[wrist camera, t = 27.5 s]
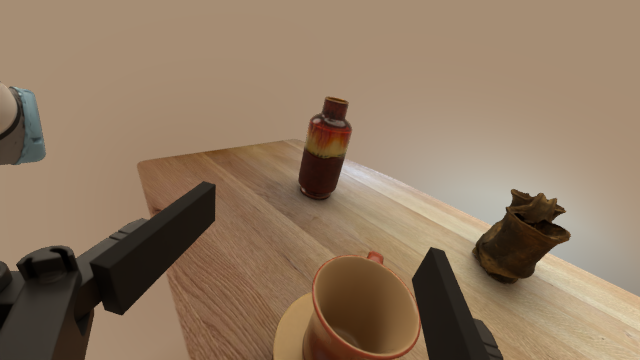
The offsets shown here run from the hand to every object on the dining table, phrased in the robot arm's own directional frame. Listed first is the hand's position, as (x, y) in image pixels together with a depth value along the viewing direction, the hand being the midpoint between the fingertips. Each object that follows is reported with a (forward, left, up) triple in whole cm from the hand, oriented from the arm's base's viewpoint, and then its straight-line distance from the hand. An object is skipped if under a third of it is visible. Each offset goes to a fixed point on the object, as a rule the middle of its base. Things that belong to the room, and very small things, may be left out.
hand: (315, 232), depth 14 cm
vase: (+36, +32, -25) cm, 54 cm away
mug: (+6, -2, -17) cm, 18 cm away
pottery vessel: (+54, -12, -25) cm, 61 cm away
